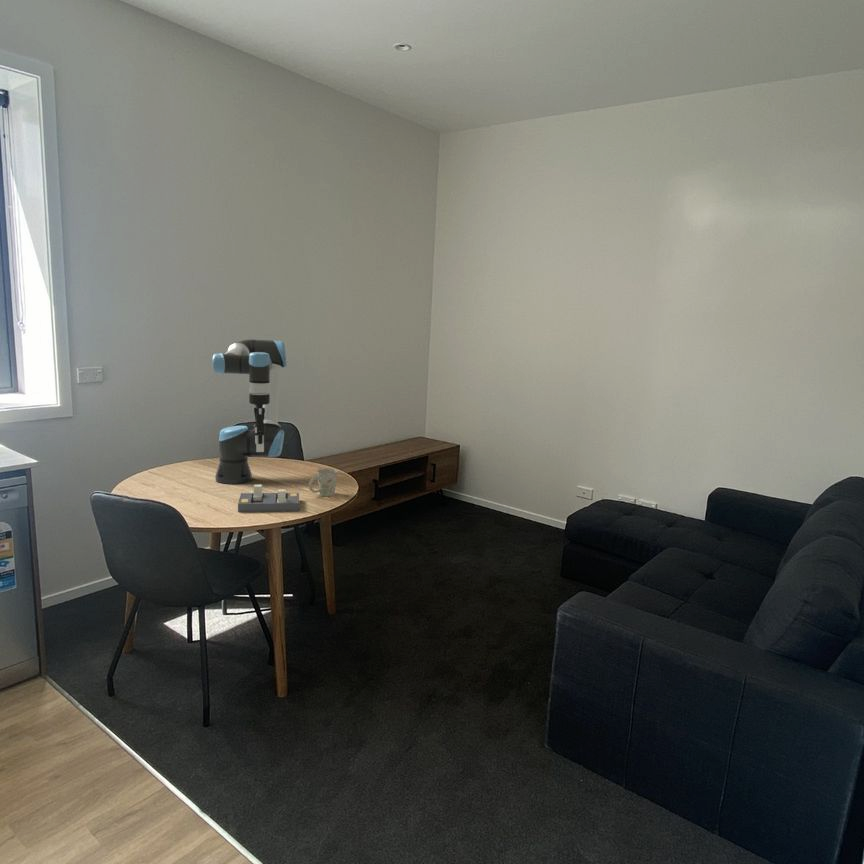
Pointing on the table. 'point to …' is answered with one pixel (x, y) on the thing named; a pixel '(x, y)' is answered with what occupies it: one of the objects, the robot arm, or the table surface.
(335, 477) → the mug
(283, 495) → the tab
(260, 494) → the tab
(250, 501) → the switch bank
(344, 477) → the table surface
